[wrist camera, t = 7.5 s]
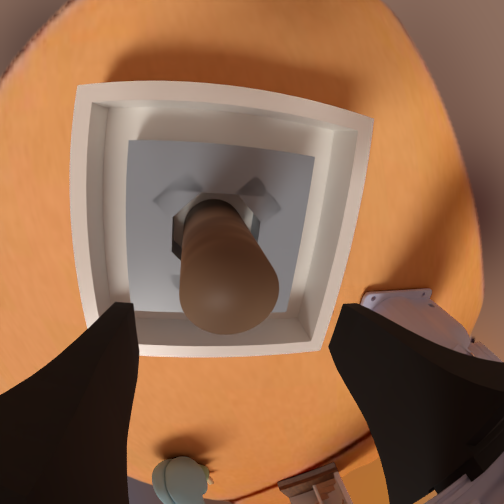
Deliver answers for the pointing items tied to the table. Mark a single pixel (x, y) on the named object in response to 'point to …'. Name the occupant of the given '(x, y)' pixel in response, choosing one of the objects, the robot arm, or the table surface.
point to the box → (212, 187)
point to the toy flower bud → (181, 481)
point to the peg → (224, 271)
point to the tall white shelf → (316, 487)
